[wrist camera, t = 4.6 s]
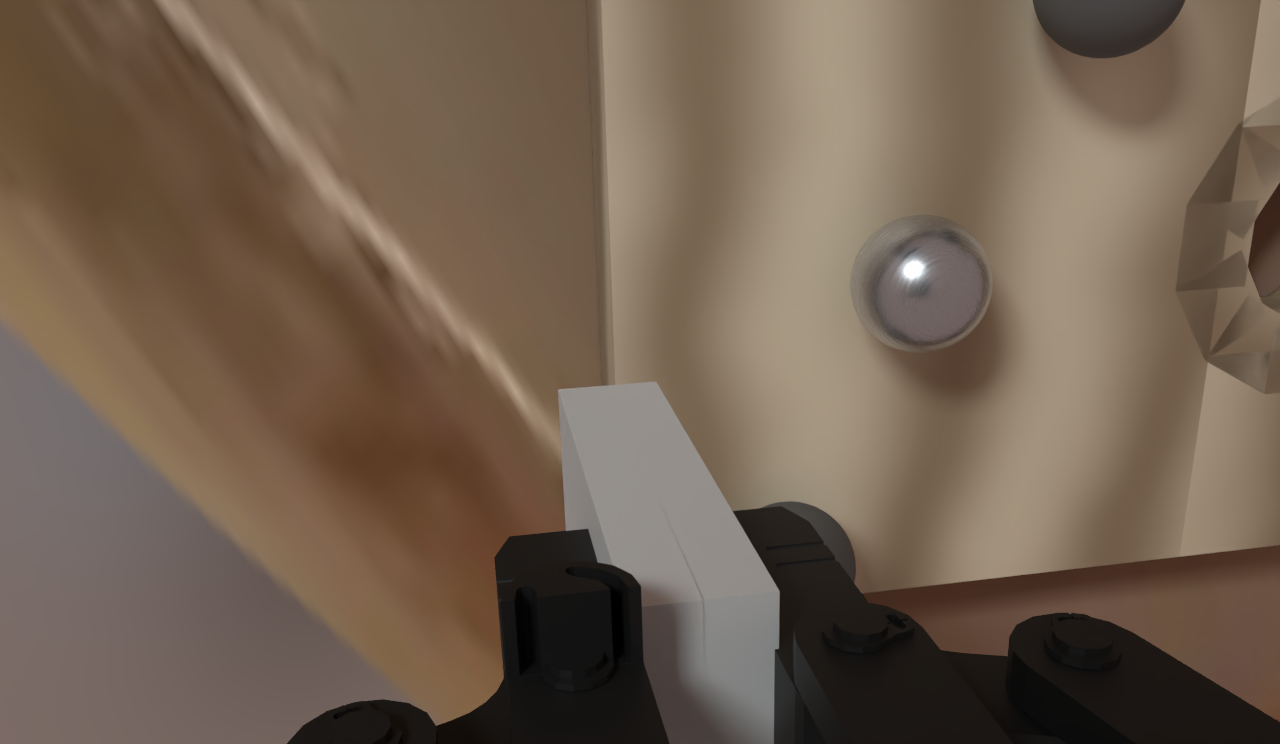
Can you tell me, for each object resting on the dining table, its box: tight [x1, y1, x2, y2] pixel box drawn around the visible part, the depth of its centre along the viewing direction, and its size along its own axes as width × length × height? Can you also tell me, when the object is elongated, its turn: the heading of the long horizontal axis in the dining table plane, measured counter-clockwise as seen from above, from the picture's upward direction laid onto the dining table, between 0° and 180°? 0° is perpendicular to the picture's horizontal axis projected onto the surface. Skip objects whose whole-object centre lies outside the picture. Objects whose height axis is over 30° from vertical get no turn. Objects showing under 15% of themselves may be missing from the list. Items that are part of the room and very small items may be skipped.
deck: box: [587, 0, 1280, 593], centre depth 29 cm, size 26×18×2 cm
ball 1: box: [762, 501, 856, 582], centre depth 27 cm, size 3×3×3 cm
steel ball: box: [850, 215, 992, 353], centre depth 26 cm, size 3×3×3 cm
